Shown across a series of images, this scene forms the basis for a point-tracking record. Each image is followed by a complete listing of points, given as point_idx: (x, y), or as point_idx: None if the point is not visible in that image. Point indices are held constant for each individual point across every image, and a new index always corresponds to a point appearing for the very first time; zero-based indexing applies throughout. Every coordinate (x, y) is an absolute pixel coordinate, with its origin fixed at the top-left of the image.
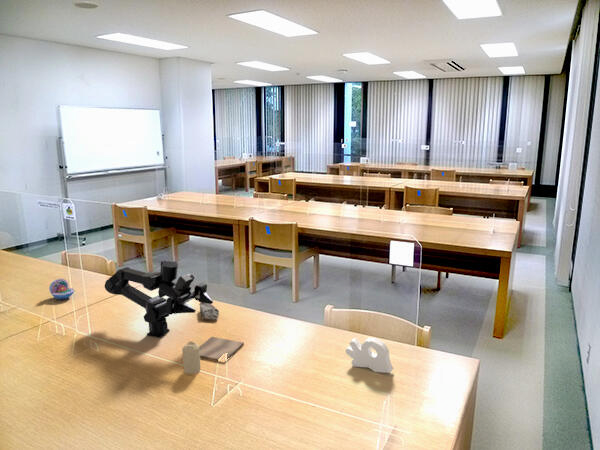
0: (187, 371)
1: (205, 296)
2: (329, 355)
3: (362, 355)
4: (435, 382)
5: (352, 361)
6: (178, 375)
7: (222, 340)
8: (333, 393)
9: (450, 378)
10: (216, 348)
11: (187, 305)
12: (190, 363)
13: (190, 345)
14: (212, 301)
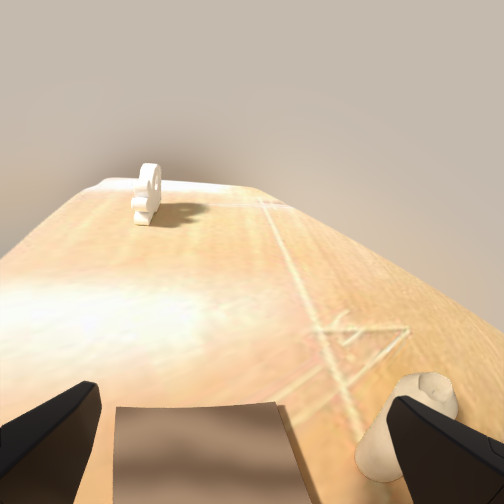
0: None
1: (32, 460)
2: (120, 247)
3: (153, 196)
4: None
5: (148, 217)
6: None
7: (131, 494)
8: (238, 231)
9: None
10: (215, 480)
11: (476, 439)
12: None
13: (431, 395)
14: (91, 383)
